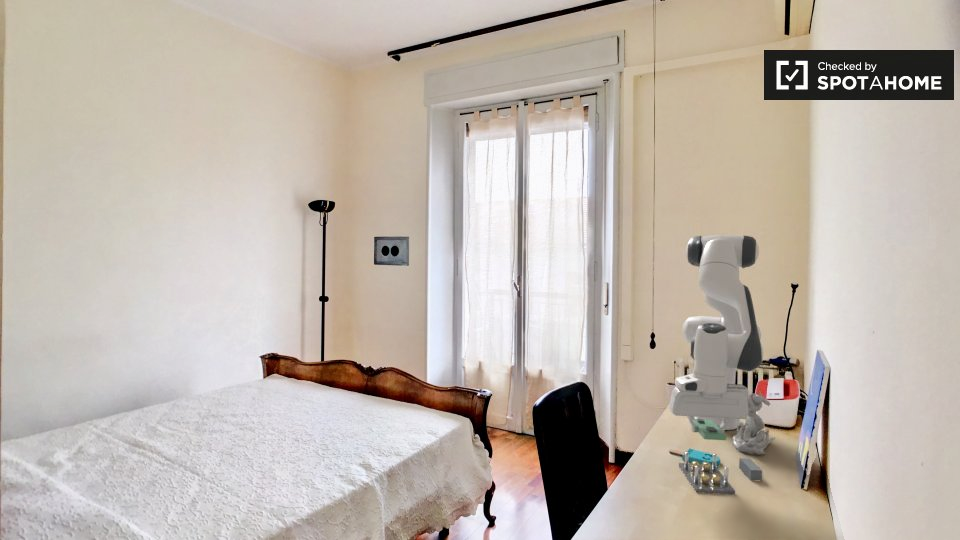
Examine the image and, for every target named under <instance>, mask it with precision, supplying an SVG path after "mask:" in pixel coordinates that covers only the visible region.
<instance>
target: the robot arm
mask: <svg viewBox="0 0 960 540" xmlns="http://www.w3.org/2000/svg"><path fill="white" fill-rule="evenodd" d="M759 254H760V248H759V245H758V242H757V239H756V238H755V237H753V236H751V235H735V234H720V235H719V234H718V235H717V234H716V235H713V234H712V235H706V236H702V235H697V236H693V237H691V238H690V239H689V240H688V243H687V244H686V247H685V256H686V259H687V261H688V262H687V263H689V264H690V265H691V266H694V267H698V269H699V270H698V284H699V287H700V289H701V291H702V292H703V293H704V302H705V303H706V305H708V306H709V307H710V308H712V309H713V310H715V311H718V312H719V314H720V315H721V316H722V317H718V316H709V315H707V316H706V315H698V316H697V315H696V316H695V315H694V316H689V317H688V318H687V319H686V320H685V321H684V323H683V324H682V330H681V332H682V335H683V338H684V339H685V341H686V342H687V343H688V344H689V345H690V357H691V358H692V359H693V361H694V364H693V368H692V373H690V374H689V373H688V374H685V375H682V376H677V377H676V378H674V384H675V387H673V388H672V390H671V393H670V398H669V399H670V400H669V410H670V412H671V413H672V414H673V415H674V416H676V417H678V416H679V417H686V418H687V420H688V421H689V423H690V431H691V432H692V433H698V426H697V424H694V422H693V420H695V419H704V420H711V421H712V422H713V423H714V424H715V425H716V426H717V427H718V428H720V429H721V430H722V431H723V432H724V433H725V431H731V430H735V429H736V430H737V427H738V428H740V427H741V425H740V422H741V423H742V424H743V425H744V426H745V423H744V421H743V420H745V419H746V418H747V416H748V402H747V399H748V395H749V389H748V387H746V386H745V385H744V384H736V375H737V373H736V371H737V370H739V371H747V372H751V371H754V370H756V369H757V368H759V367H760V366H761V365H762V364H763V360H764V347H763V345H762V342H761V340H762V331H761V329H760V327H759V326H758V324H757V319H756V314H755V308H754V303H753V299H752V294H751V292H750V288H749V287H748V286H747V285H745V284H743V283H742V282H741V280H740V270H739V269H740V268H742V269H745V268H751V267H752V266H753V265H755V264H756V262H757V260H758V258H759ZM736 369H737V370H736Z"/></svg>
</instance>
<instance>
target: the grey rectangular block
mask: <svg viewBox="0 0 960 540" xmlns="http://www.w3.org/2000/svg"><path fill="white" fill-rule="evenodd" d="M738 462H739V463H738V464H739V465H738V469H739V470H740V469H741V470H740V471H741V472H742V473H743V474H744V475H745V476H746V478H747V479H749V481H751V480H761V481H760V482H762V481H763V479H762V478H763V470H762V468H760V467H759V465H757V463H756V462H755V461H753V460H752V459H751V458H748V457H747V458H743V457H739V460H738Z"/></svg>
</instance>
